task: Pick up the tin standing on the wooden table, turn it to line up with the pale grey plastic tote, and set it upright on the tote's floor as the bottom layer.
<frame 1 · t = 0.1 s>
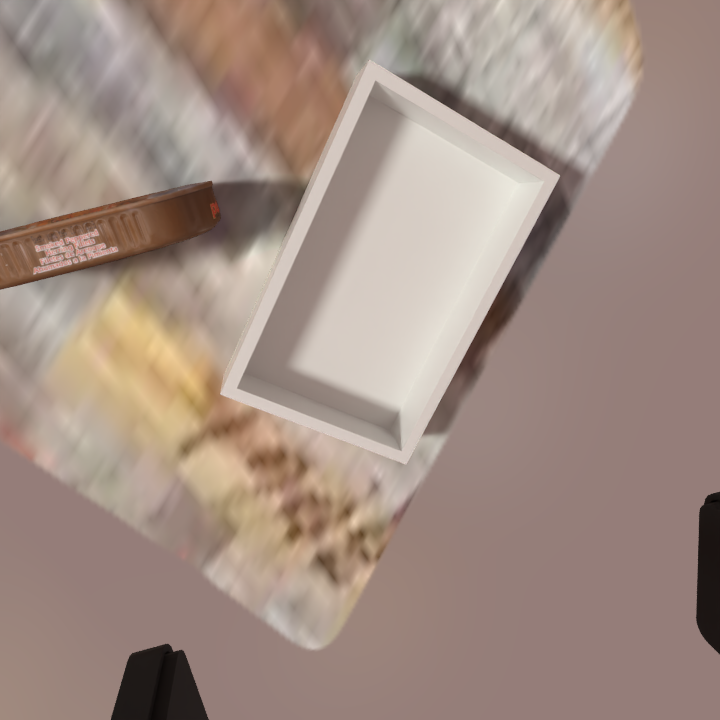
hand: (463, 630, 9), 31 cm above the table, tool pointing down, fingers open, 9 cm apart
tote: (375, 275, 39), on the table
tin: (110, 230, 35), on the table
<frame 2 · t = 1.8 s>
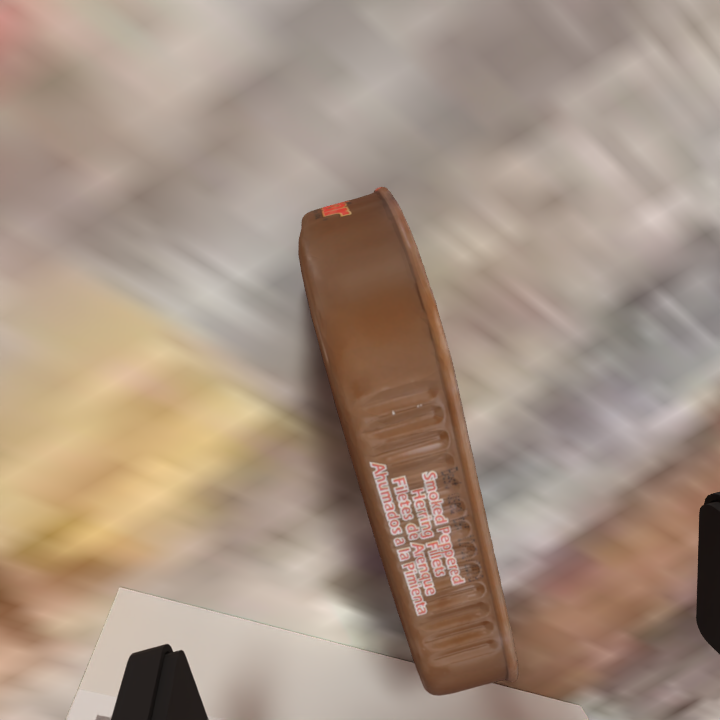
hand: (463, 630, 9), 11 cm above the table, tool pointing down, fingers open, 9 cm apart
tin: (378, 401, 20), on the table
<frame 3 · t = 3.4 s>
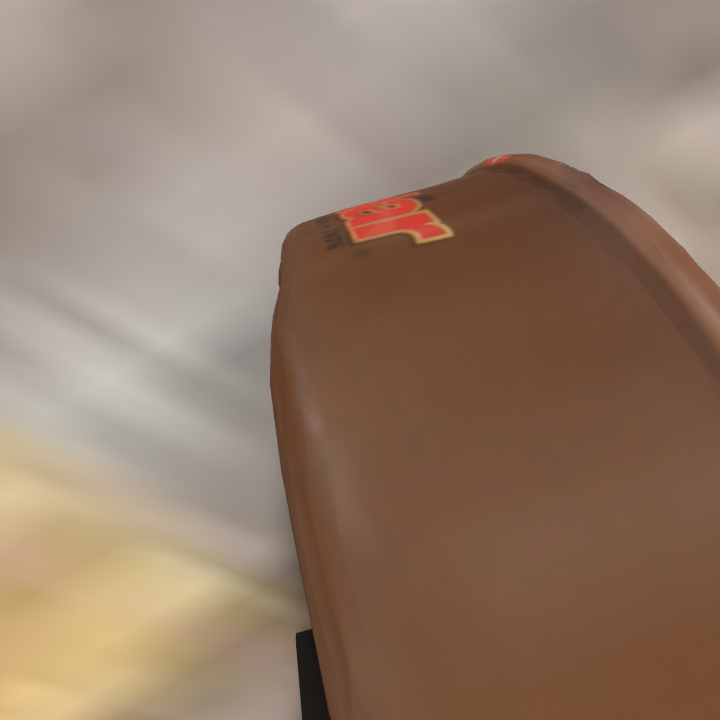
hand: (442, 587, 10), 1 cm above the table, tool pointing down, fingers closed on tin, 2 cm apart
tin: (418, 554, 11), on the table, touching gripper
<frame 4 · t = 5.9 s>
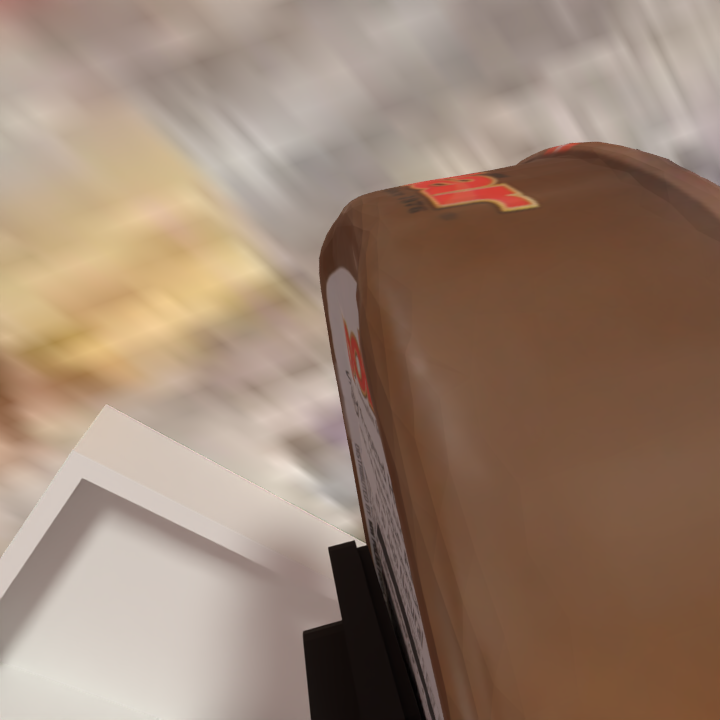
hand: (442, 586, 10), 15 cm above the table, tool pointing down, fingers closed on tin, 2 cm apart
tote: (235, 620, 27), on the table
tin: (415, 550, 11), point 14 cm above the table, touching gripper
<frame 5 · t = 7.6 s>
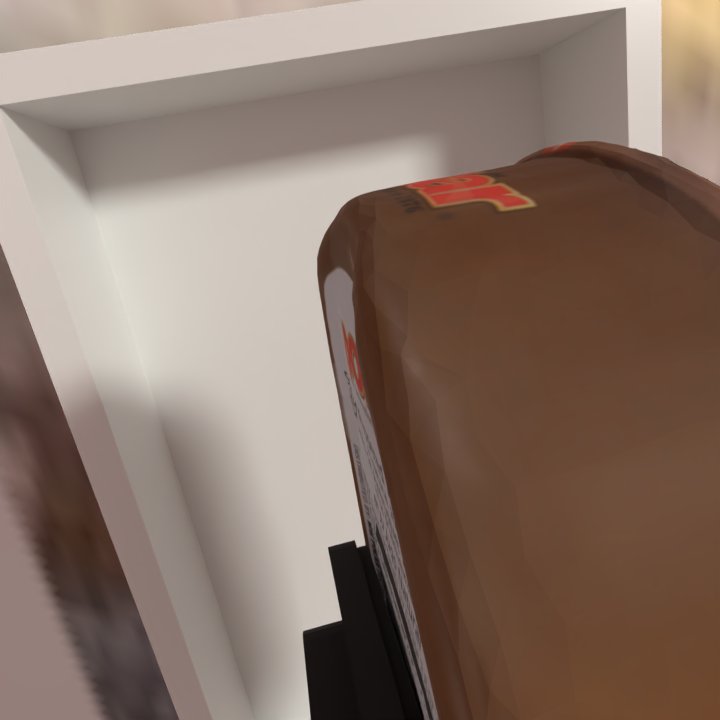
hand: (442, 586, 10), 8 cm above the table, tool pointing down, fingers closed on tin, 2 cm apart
tote: (374, 431, 18), on the table
tin: (415, 551, 11), point 7 cm above the table, touching gripper
when the fingers open (2 cm above the table, at t = 8.7 s): tin stays where it is, resting on tote.
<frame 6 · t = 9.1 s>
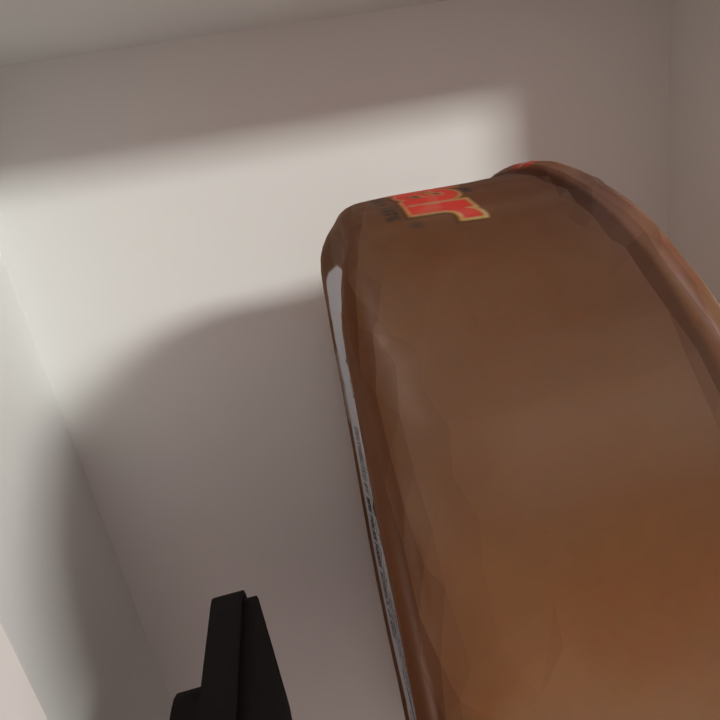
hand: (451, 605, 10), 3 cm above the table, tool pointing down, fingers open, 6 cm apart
tote: (407, 512, 13), on the table
tin: (412, 529, 12), point 1 cm above the table, touching tote
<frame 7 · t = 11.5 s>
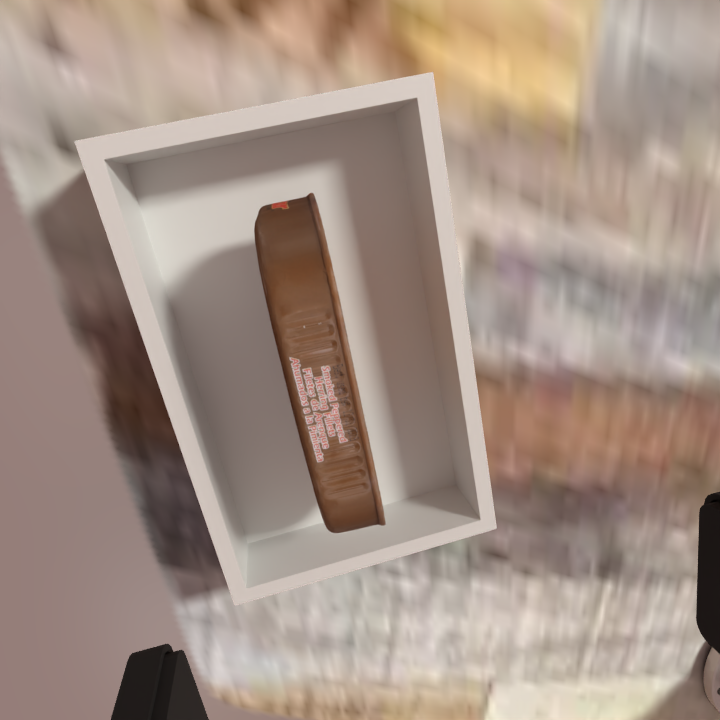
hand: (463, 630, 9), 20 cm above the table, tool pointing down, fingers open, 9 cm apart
tote: (313, 343, 28), on the table
tin: (313, 347, 28), point 1 cm above the table, touching tote
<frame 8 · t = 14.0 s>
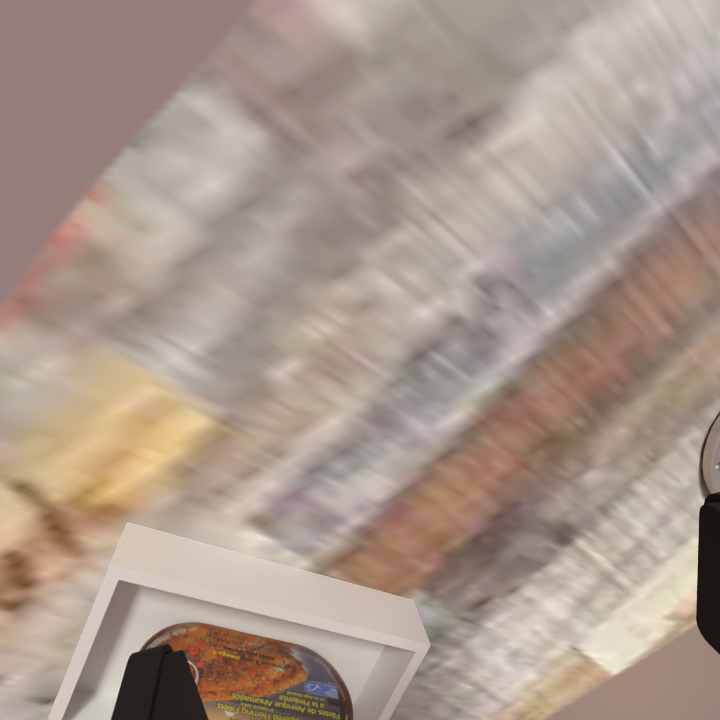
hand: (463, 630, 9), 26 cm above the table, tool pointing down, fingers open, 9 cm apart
tote: (244, 640, 40), on the table
tin: (244, 647, 40), point 1 cm above the table, touching tote
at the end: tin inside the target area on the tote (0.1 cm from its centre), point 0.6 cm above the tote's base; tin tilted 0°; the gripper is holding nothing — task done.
